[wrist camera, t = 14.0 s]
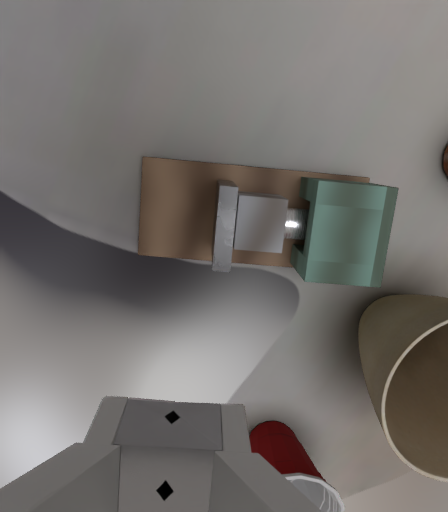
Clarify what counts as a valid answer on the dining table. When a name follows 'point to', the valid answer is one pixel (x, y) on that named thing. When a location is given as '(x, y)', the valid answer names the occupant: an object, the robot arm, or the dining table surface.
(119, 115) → the dining table surface
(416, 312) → the plant pot
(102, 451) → the robot arm
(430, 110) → the dining table surface
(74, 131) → the dining table surface
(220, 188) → the upright dark gray slab
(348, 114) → the dining table surface
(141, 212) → the tube housing
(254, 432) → the plastic cup
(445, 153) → the sauce bottle
